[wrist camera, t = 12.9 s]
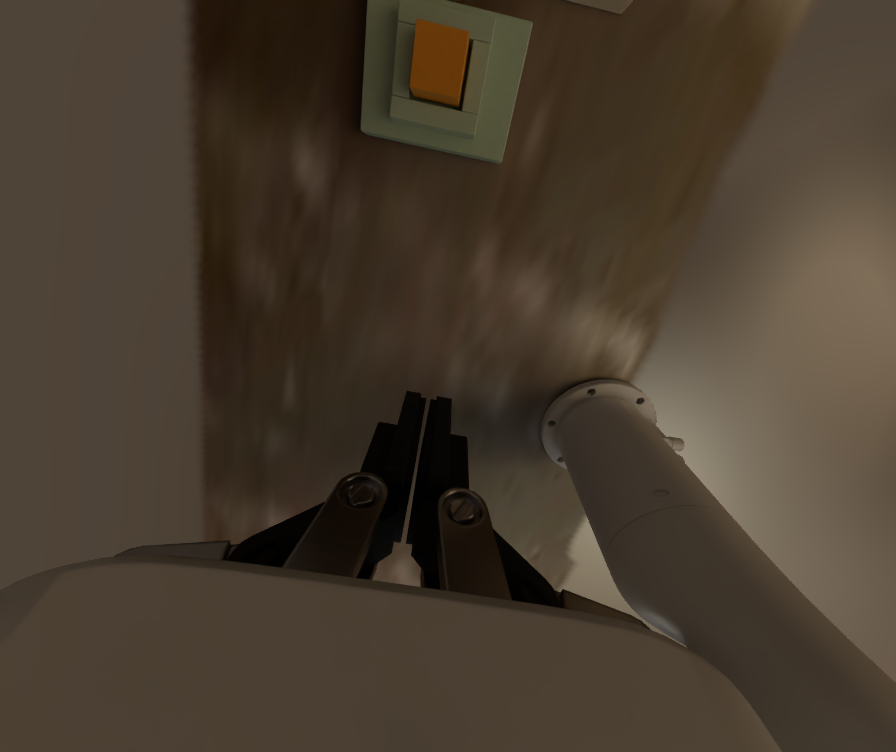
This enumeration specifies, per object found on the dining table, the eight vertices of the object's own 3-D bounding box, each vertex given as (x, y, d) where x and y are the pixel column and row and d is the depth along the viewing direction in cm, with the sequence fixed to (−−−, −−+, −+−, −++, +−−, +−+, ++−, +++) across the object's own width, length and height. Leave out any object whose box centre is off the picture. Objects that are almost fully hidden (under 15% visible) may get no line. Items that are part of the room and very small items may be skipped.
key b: (468, 46, 22) (469, 31, 20) (458, 107, 23) (458, 98, 21) (420, 34, 21) (416, 17, 19) (413, 97, 23) (409, 86, 21)
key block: (528, 33, 23) (539, 6, 20) (499, 164, 27) (504, 158, 24) (374, -6, 23) (360, -39, 20) (365, 134, 26) (353, 125, 23)
